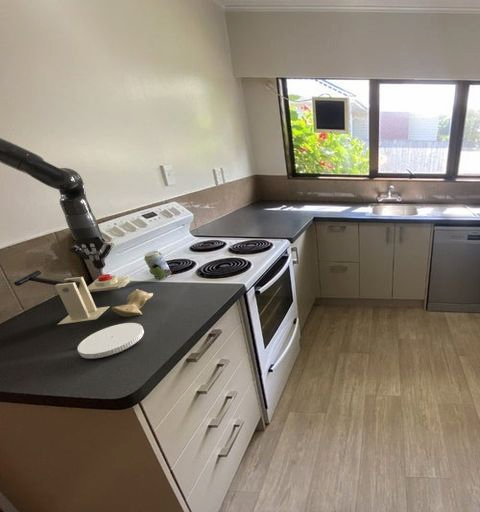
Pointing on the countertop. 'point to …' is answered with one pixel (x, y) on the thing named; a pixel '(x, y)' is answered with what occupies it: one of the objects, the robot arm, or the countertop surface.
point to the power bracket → (78, 301)
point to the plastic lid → (110, 340)
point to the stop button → (104, 277)
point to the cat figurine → (133, 304)
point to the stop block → (108, 284)
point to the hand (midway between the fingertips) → (100, 268)
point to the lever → (40, 280)
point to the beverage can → (157, 265)
